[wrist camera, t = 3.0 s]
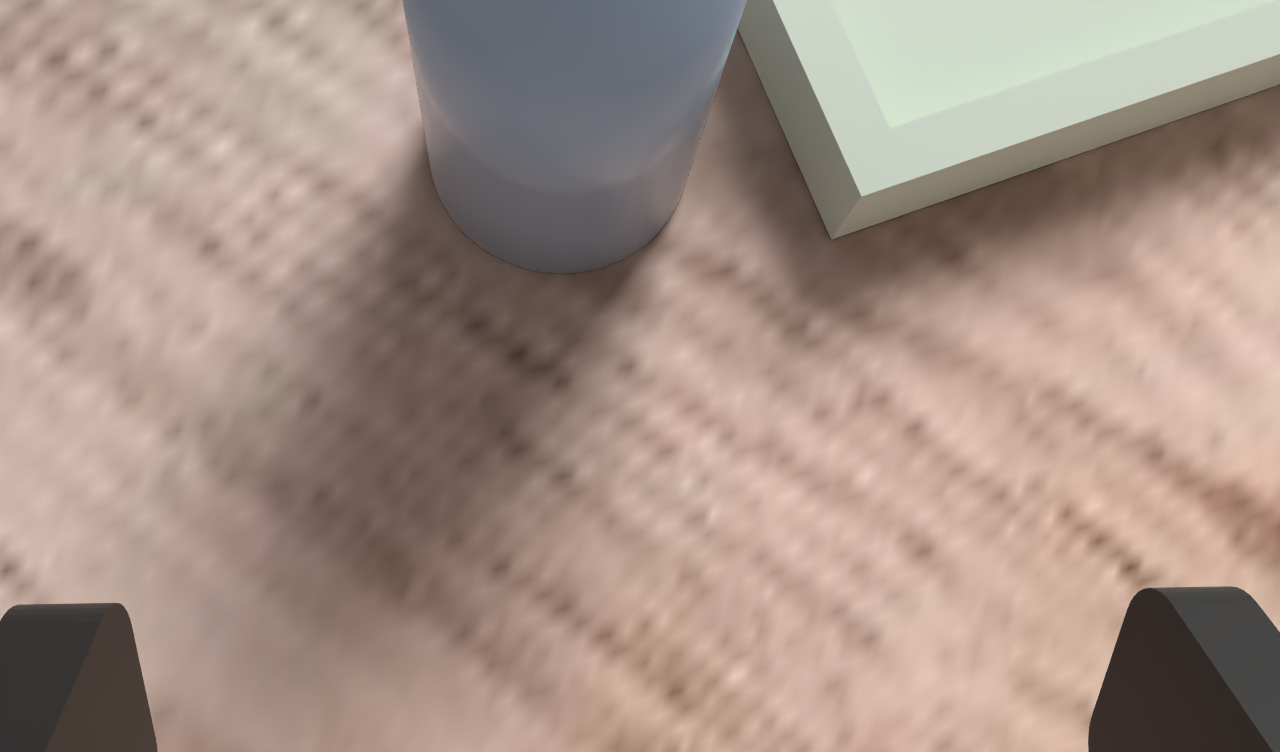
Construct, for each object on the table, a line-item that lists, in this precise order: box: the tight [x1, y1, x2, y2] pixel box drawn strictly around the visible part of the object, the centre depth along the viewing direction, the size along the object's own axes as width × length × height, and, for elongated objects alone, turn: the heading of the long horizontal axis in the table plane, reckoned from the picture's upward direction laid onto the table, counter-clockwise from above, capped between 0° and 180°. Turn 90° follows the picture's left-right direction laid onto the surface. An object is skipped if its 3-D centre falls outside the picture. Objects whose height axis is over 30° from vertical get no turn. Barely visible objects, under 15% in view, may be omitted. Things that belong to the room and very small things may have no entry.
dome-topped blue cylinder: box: [403, 0, 747, 274], centre depth 22 cm, size 6×6×11 cm
